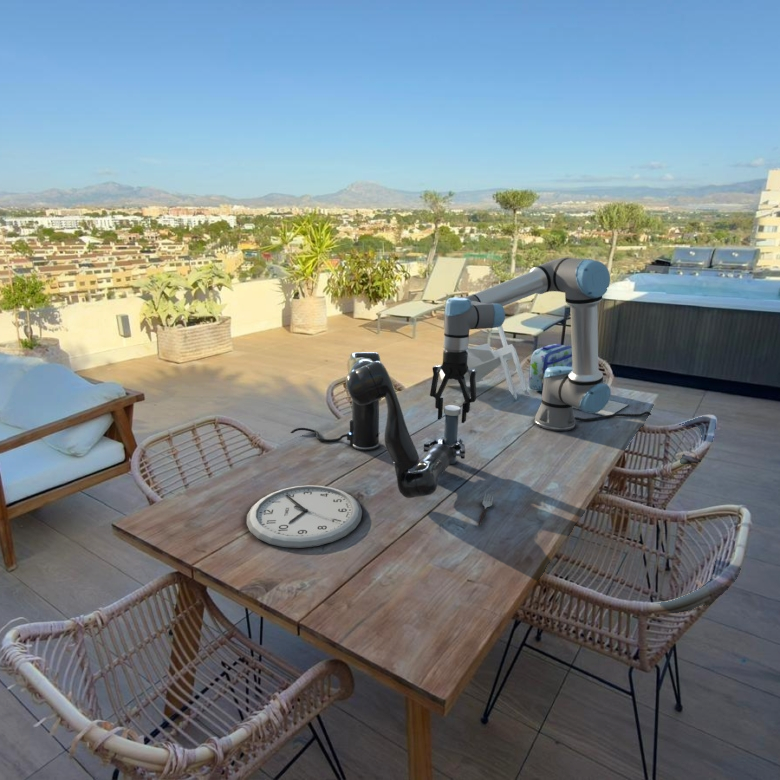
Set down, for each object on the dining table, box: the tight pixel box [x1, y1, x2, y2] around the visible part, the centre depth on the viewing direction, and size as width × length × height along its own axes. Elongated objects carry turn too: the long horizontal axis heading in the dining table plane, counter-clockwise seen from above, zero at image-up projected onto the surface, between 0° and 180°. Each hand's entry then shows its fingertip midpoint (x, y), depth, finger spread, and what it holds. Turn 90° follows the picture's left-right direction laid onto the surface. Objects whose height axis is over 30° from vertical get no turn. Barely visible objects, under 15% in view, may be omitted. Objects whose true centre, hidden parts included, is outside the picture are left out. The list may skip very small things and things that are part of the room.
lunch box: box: [528, 343, 572, 392], centre depth 248 cm, size 26×11×21 cm, turn 134°
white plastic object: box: [439, 324, 531, 400], centre depth 245 cm, size 37×45×31 cm
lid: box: [443, 404, 462, 416], centre depth 166 cm, size 5×5×2 cm
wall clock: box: [246, 484, 363, 549], centre depth 137 cm, size 30×2×30 cm
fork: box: [477, 491, 494, 527], centre depth 140 cm, size 3×16×2 cm, turn 160°
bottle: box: [443, 414, 460, 465], centre depth 168 cm, size 4×4×18 cm
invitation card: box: [573, 399, 629, 416], centre depth 226 cm, size 21×1×15 cm
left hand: (452, 440), depth 171 cm, fingers closed on bottle, 4 cm apart
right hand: (451, 419), depth 167 cm, fingers open, 7 cm apart
